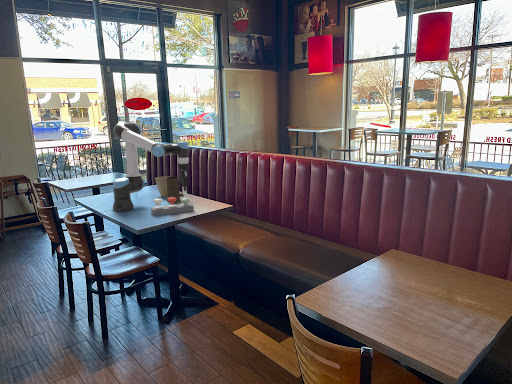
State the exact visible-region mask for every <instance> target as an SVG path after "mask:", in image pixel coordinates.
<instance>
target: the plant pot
mask: <svg viewBox="0 0 512 384" xmlns="http://www.w3.org/2000/svg"><path fill="white" fill-rule="evenodd" d="M167 177H168V176H158V177H155V183H156V188H157V190H158V193H159V195H160V197H167V181H166V178H167Z"/></svg>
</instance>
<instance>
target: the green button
mask: <svg viewBox="0 0 512 384" xmlns="http://www.w3.org/2000/svg"><path fill="white" fill-rule="evenodd" d="M190 200H191V199H190V197H182V198H180V202H181V203H182V204H188V203H190Z"/></svg>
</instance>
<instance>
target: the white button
mask: <svg viewBox="0 0 512 384" xmlns="http://www.w3.org/2000/svg"><path fill="white" fill-rule="evenodd" d="M161 203H163V198H155V199H153V204H155V206H156V207H158V206H162V205H161Z"/></svg>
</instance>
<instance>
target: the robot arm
mask: <svg viewBox="0 0 512 384" xmlns="http://www.w3.org/2000/svg"><path fill="white" fill-rule="evenodd" d="M113 134H114V136H115V137H116V138H117V139H119V140H121V141H123V142H124V144H125V145H124V146H125V157H126V158H125V160H126V172H127V173H126V175H125V177H119V178H116V179H114V180H113V181H112V189H113V199H114V201H113V204H112V211H113V212H129V211H131V210H134V209H135V205H134V203H133V201H132V198H131V194H134V193H138V192H140V191H143V189H144V188H145V180H144V178H143V177H142V174H141V173H140V172H139V169H140V168H139V157H138V156H139V154H138V153H139V152H138V147H140V148H142V149H144V150H146V151H148V152H149V153H150V152H151V153H152V155H153V156H154V157H159V158H160V157H165V156H170V155H176V156H177V162H178V164H177V166H178V169H179V170H180V172H179V173H180V180H181V182H180V183H181V187H182V189H183V195H184V196H187V195H188V194H187V193H188V192H187V191H188V190H187V187H188V175H189V174H188V171H187V170H189V168H190V163H189V160H190V158H189V143H188V142H187V141H178V142H177V143H175V144H174V143H165V144H163V145H162V144H159V143H157V142H156V141H154V140H151V139H149V138H147V137H144V136H142V128H141V126H140V124H138V123H137V122H134V121H133V122H132V121H129V122H128V121H126V122H118V123H116V125H114V127H113ZM182 189H181V190H182Z"/></svg>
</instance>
